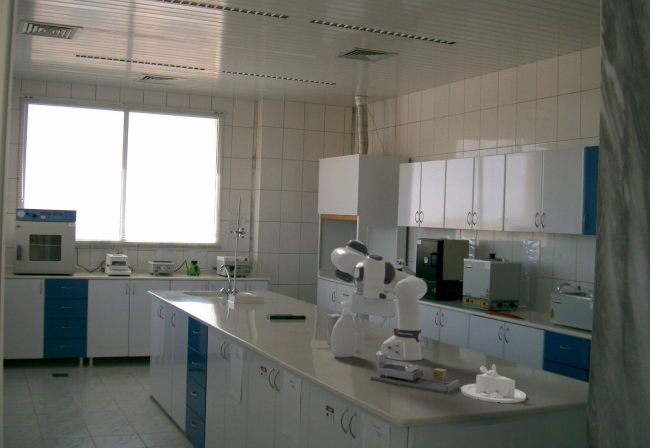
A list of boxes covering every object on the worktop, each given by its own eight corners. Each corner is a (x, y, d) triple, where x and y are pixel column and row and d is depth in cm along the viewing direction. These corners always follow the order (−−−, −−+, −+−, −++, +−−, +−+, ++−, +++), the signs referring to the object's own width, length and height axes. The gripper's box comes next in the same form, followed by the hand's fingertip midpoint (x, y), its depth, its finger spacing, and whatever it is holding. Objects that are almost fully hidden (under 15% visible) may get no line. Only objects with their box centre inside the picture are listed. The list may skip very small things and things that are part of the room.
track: (370, 379, 274) (370, 372, 274) (383, 374, 285) (383, 367, 285) (448, 393, 257) (448, 386, 257) (458, 387, 267) (459, 380, 267)
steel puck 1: (403, 374, 269) (404, 367, 269) (406, 373, 272) (407, 366, 272) (411, 376, 267) (411, 368, 267) (414, 374, 270) (415, 367, 270)
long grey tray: (375, 377, 274) (376, 356, 274) (385, 373, 283) (386, 352, 283) (412, 384, 266) (414, 362, 266) (422, 380, 274) (423, 358, 274)
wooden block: (433, 380, 278) (433, 369, 278) (436, 378, 282) (437, 368, 282) (442, 382, 276) (442, 371, 276) (445, 380, 280) (446, 369, 280)
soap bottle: (351, 354, 325) (354, 299, 324) (360, 357, 317) (363, 301, 317) (325, 355, 318) (328, 299, 318) (333, 359, 311) (336, 301, 311)
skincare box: (343, 346, 344) (345, 315, 344) (331, 346, 341) (332, 315, 341) (337, 343, 352) (339, 313, 352) (325, 343, 349) (326, 313, 349)
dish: (448, 392, 260) (450, 364, 260) (483, 383, 278) (484, 357, 278) (504, 407, 243) (505, 377, 243) (537, 397, 260) (538, 368, 260)
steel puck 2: (407, 373, 273) (408, 365, 273) (411, 371, 276) (411, 364, 276) (415, 374, 271) (415, 367, 271) (418, 372, 274) (419, 365, 274)
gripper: (348, 291, 284) (347, 323, 284) (391, 296, 273) (390, 329, 273) (355, 290, 289) (354, 321, 289) (398, 295, 279) (396, 327, 279)
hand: (372, 325), depth 281 cm, fingers open, 8 cm apart
